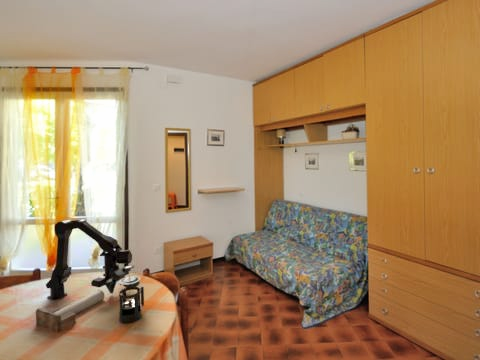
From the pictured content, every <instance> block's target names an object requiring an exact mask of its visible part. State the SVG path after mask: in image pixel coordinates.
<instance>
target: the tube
mask: <svg viewBox="0 0 480 360" xmlns="http://www.w3.org/2000/svg"><path fill="white" fill-rule="evenodd" d="M104 299H105V292H104V291H103V290H101V289H98V290H97V291H94V292H92V293H91V294H88V295H87V296H84V297H82V298H80V299H78V300H77V301H75V302H72V303H70V304H69V305H67V306H65V307H63V308H59V310H58V311H56V312H54V313H55V314H58V315H60V316H63V315H65V314H67V313H69V312H72V313H75V315H77V314H79V313H81V312H82V311H84V310H87V309H88V308H90V307H92V306H94V305H95V304H98V303H99V302H101V301H104Z"/></svg>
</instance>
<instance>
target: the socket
mask: <svg viewBox="0 0 480 360" xmlns="http://www.w3.org/2000/svg"><path fill="white" fill-rule="evenodd" d="M58 310H60V308H58V307H51V308H49V309H46V310H45V309H42V308H39V307H38V308H36V311H35V320H36V321H35V322H36V323H35V324H36V326H39V327H41V328H43V329H47V330H50V331H53V332H54V333H59V332H61V331H63V330H66V329H67V328H69V327H70V326H72V325H75V324H76V323H77V322H76V314H75V313H72V312H69V313H67V314H65V315H63V316H60V315H58V314H55V313H54V312H56V311H58Z"/></svg>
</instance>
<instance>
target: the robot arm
mask: <svg viewBox="0 0 480 360" xmlns="http://www.w3.org/2000/svg"><path fill="white" fill-rule="evenodd" d="M75 229H78V230H80V231H82V232H83V233H84V234H85V235H87V236H88V237H89V238H91V239H92V240H93V241H95V242H96V243H97V244H98V247H99V248H100V249H101V250H102V253H101V254H99V256H100V257H103V259H104V260H103V262H104V265H103V266H102V269H104V273H103V274H102V276H103V277H97V278H95V279H92V280H91V282H90V283H91V284H90V285H91V287H96V288H101V287H102V288H103V286H105V287H106V289H107V290H108V292H109V294H114V291H115V288H116V285H117V283H118V282H119V280H121V279H122V278H125V277H127V275H128V276H129V271H128V269H124V267H120V266H119V265H120V264H131V262H132V261H133V254H132V252H131V249H124V250H123V248H122V247H121V246H120V244H118V243H119V242H118V240H117V239H116V238H114V237H112V236H109V235H106V234H104V233H102V232H101V231H99V229H97V228H96V227H95V226H93V225H92V224H90V223H89V222H88V221H87V220H86V219H74V220H71V219H64V220H61V221H58V222H56V223H55V225H54V234H55V236H56V238H57V243H56V244H57V245H56V257H55V258H56V260H55V266H54V268H53V270H52V273H51V276H50V280H49V281H48V282H47V283H46V284H45V287H46V289H49V291H50V292H49V296H46V297H47V299H49V300H54V301H56V300H59V299H60V298H63V297H65V296H67V295H68V293H66V292H65V284H64V283H66V282H67V280H68V278H70V276H71V275H72V266H69V265H68V254H69V239H70V236H71V234H72V233H73V230H75Z"/></svg>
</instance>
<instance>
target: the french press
mask: <svg viewBox="0 0 480 360" xmlns="http://www.w3.org/2000/svg"><path fill="white" fill-rule="evenodd" d="M123 268H124V269H128V271H129V274H128V276H125V278H122V279H121V280H119V281H117V283H118V285H119V286H122V287H124V288H122V289H120V290H119V292H118V297H119V312H118V315H119V318H118V322H119V323H121V324H125V325H127V324H133V323H135V322H138V321H140V320H141V318H142V316H143V314H142V307H144V305H145V293H144V291H145V289H144V286H142V285H140V281H141V277H140V276H137V275H133V276H132V275H131V269H134V268H135V265H131V264H130V265H126V266H124V267H123ZM139 285H140V286H139ZM133 290H135V291H137V292H135V293H134V294H129V295H127V291H129V293H131V291H133ZM129 314H130V315H129Z"/></svg>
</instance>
